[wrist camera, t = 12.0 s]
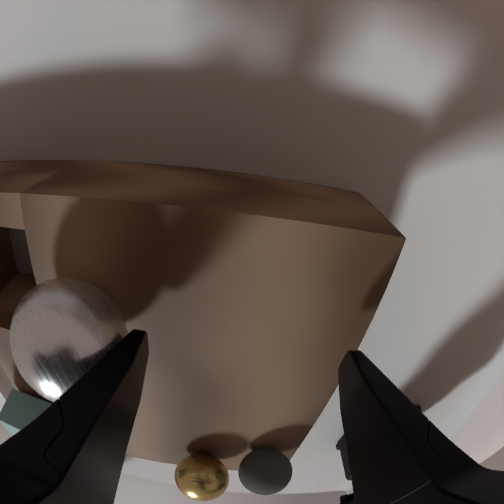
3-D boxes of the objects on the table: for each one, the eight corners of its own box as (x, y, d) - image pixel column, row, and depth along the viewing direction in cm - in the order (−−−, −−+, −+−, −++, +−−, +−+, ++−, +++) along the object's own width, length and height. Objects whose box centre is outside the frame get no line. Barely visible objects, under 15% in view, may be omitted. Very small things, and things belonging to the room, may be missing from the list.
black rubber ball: (295, 439, 14) (301, 485, 12) (283, 458, 16) (287, 499, 13) (241, 438, 14) (242, 487, 11) (235, 457, 16) (235, 499, 13)
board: (359, 193, 12) (406, 238, 9) (277, 421, 21) (281, 470, 17) (-25, 162, 11) (-80, 190, 7) (39, 380, 19) (21, 420, 15)
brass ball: (231, 448, 15) (231, 496, 12) (226, 465, 16) (226, 507, 13) (175, 442, 14) (170, 490, 12) (178, 460, 16) (174, 502, 13)
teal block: (79, 412, 13) (67, 449, 11) (100, 448, 15) (92, 478, 13) (12, 388, 12) (-3, 418, 10) (40, 427, 15) (30, 454, 12)
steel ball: (153, 286, 8) (35, 366, 5) (158, 379, 10) (82, 452, 6) (71, 242, 9) (-24, 287, 6) (85, 330, 11) (14, 379, 8)
